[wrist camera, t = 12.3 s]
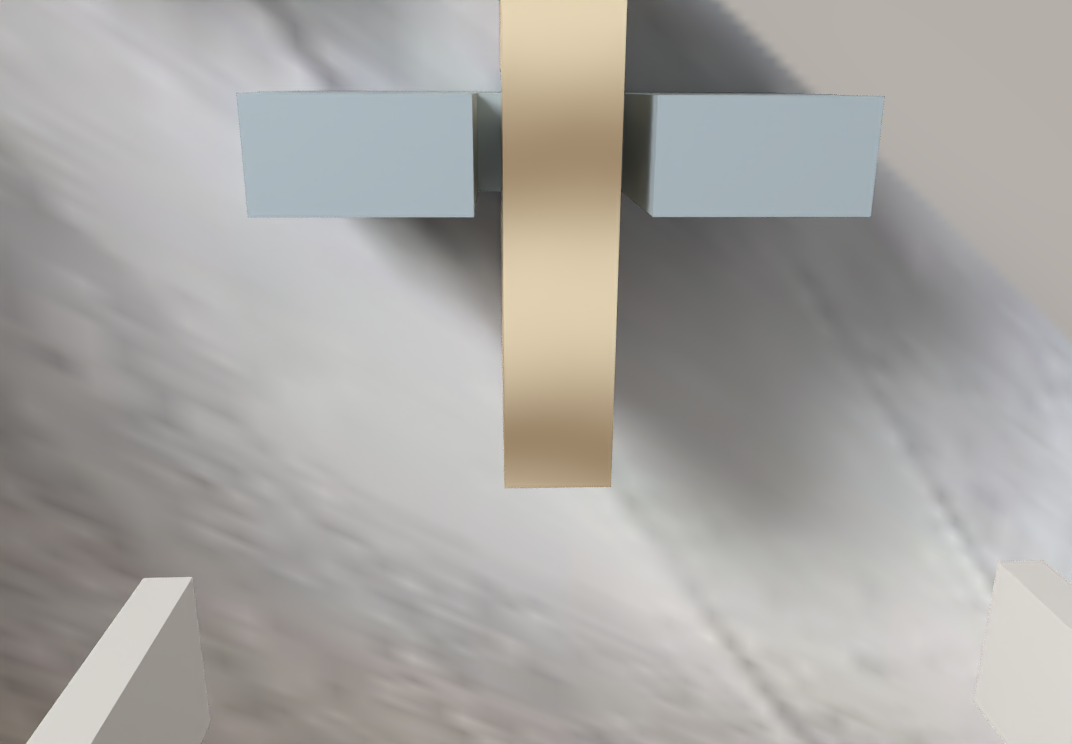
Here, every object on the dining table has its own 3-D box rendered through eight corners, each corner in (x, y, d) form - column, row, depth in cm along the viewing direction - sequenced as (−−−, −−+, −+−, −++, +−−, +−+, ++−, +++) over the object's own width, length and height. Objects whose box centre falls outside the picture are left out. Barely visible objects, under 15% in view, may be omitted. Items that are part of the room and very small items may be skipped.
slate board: (303, 173, 34) (207, 217, 23) (298, 91, 33) (194, 93, 22) (772, 174, 35) (908, 216, 23) (779, 93, 34) (923, 96, 23)
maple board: (574, 362, 37) (611, 486, 25) (501, 363, 37) (504, 488, 25) (584, -131, 31) (635, -255, 20) (498, -132, 31) (500, -258, 20)
